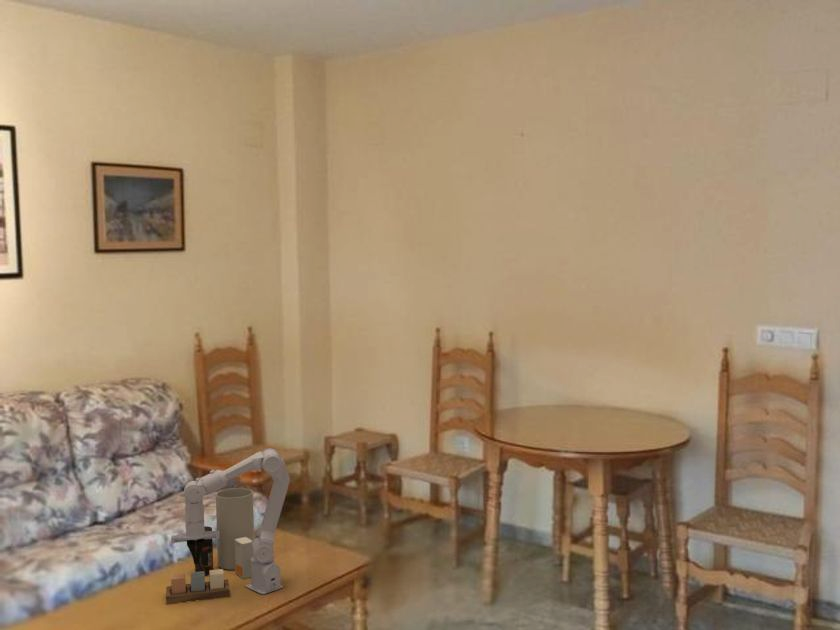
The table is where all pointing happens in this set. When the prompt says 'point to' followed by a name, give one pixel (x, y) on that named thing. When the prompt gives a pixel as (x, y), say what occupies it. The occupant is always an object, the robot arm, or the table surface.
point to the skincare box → (243, 557)
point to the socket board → (197, 593)
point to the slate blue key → (197, 581)
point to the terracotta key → (178, 583)
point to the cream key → (216, 579)
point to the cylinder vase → (233, 522)
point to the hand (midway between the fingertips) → (196, 563)
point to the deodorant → (205, 555)
